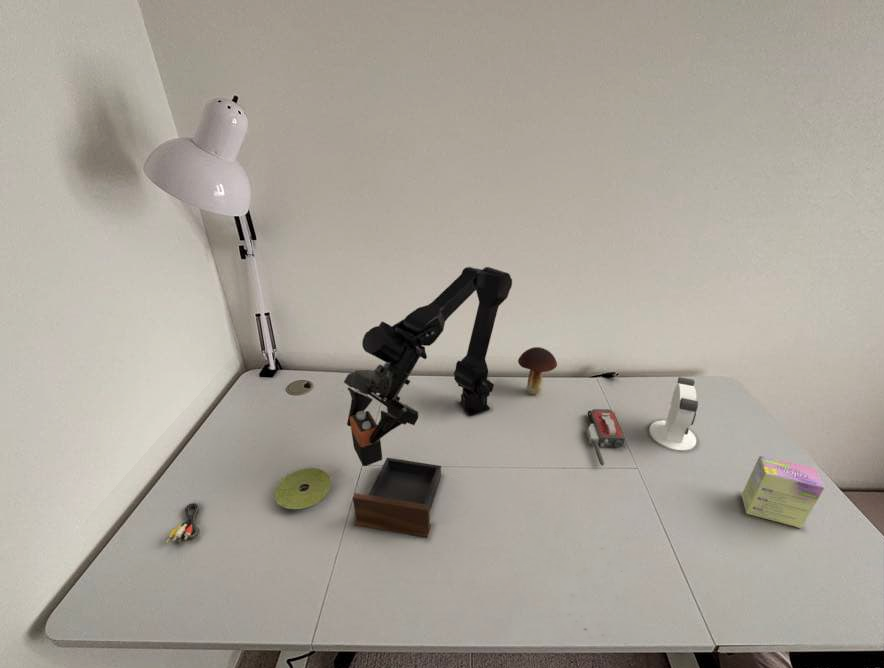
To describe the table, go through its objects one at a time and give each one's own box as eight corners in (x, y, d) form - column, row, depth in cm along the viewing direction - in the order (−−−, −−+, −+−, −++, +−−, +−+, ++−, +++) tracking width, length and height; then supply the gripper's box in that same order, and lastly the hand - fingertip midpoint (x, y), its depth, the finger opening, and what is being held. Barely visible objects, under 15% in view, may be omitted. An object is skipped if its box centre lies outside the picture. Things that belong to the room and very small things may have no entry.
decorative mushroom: (507, 391, 128) (511, 347, 121) (532, 378, 135) (537, 335, 128) (536, 409, 122) (541, 363, 114) (560, 394, 128) (567, 349, 121)
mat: (292, 525, 86) (291, 518, 85) (266, 493, 93) (264, 487, 92) (342, 493, 94) (341, 486, 93) (315, 466, 100) (314, 459, 99)
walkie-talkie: (579, 415, 120) (596, 468, 102) (581, 402, 118) (600, 454, 100) (611, 415, 120) (634, 469, 102) (614, 402, 118) (638, 455, 100)
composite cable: (187, 506, 89) (184, 498, 88) (213, 503, 90) (210, 495, 89) (167, 549, 81) (163, 540, 80) (195, 545, 82) (191, 537, 81)
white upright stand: (698, 457, 107) (716, 408, 99) (649, 445, 110) (664, 397, 103) (693, 427, 117) (710, 380, 109) (649, 417, 120) (662, 371, 113)
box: (793, 507, 94) (816, 467, 88) (801, 529, 89) (825, 488, 84) (740, 494, 97) (758, 454, 91) (745, 514, 92) (764, 473, 86)
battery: (372, 441, 98) (368, 406, 94) (383, 460, 93) (379, 424, 88) (353, 448, 96) (348, 412, 92) (363, 468, 91) (358, 431, 86)
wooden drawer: (382, 467, 101) (380, 444, 97) (446, 477, 98) (446, 454, 95) (354, 525, 87) (350, 500, 83) (427, 538, 85) (426, 513, 81)
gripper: (345, 339, 91) (306, 405, 90) (404, 373, 81) (360, 449, 79) (379, 357, 100) (344, 417, 99) (435, 390, 90) (397, 458, 88)
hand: (359, 434), depth 91 cm, fingers closed on battery, 7 cm apart
